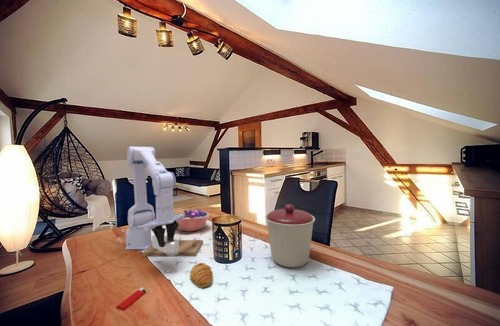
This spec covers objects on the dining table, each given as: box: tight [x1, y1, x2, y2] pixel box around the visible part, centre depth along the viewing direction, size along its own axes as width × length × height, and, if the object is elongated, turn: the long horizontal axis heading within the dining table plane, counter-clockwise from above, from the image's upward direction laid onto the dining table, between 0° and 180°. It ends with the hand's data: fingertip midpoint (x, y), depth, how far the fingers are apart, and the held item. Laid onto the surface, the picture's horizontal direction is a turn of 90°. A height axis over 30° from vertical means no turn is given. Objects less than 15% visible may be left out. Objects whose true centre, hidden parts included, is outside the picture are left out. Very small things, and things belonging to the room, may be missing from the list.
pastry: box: [189, 262, 213, 289], centre depth 66 cm, size 9×7×4 cm
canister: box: [264, 203, 316, 268], centre depth 77 cm, size 18×18×21 cm
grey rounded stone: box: [151, 235, 180, 257], centre depth 74 cm, size 12×4×4 cm, turn 54°
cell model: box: [173, 208, 210, 232], centre depth 112 cm, size 17×20×11 cm
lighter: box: [116, 287, 147, 311], centre depth 58 cm, size 3×1×8 cm
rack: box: [142, 238, 204, 257], centre depth 88 cm, size 21×12×4 cm, turn 89°
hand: (165, 244), depth 74 cm, fingers closed on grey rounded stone, 3 cm apart
